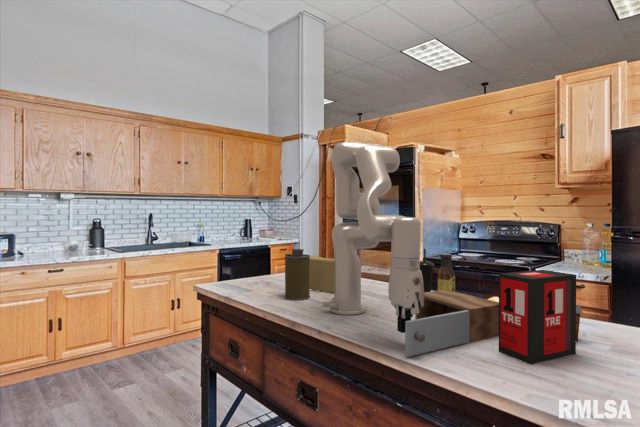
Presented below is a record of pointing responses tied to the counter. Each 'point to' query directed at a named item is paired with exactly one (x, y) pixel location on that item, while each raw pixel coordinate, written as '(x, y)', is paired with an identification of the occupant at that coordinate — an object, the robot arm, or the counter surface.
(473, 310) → the cabinet
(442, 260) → the sauce bottle
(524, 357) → the cleaning product box
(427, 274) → the drinking cup
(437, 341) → the door
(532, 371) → the counter surface
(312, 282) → the cheese
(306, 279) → the canister
